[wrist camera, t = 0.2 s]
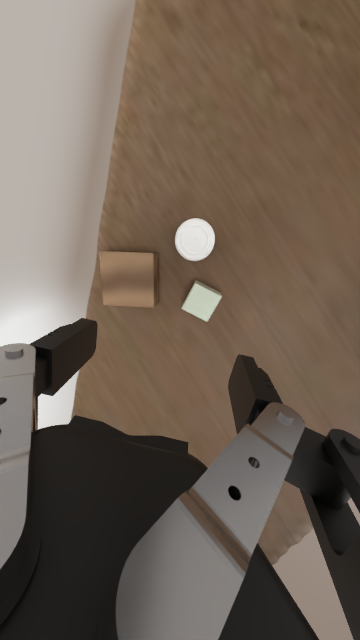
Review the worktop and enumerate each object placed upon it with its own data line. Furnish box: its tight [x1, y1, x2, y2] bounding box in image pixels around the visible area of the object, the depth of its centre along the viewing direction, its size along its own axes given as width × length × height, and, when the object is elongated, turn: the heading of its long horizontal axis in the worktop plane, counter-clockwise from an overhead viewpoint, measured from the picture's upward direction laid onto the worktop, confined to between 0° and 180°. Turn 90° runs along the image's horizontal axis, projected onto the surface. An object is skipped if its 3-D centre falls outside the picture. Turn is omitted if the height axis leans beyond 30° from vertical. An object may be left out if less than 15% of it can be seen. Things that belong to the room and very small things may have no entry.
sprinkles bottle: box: [175, 218, 215, 261], centre depth 29 cm, size 5×5×13 cm
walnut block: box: [99, 251, 158, 308], centre depth 37 cm, size 9×9×4 cm
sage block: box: [182, 280, 222, 321], centre depth 37 cm, size 5×5×4 cm
